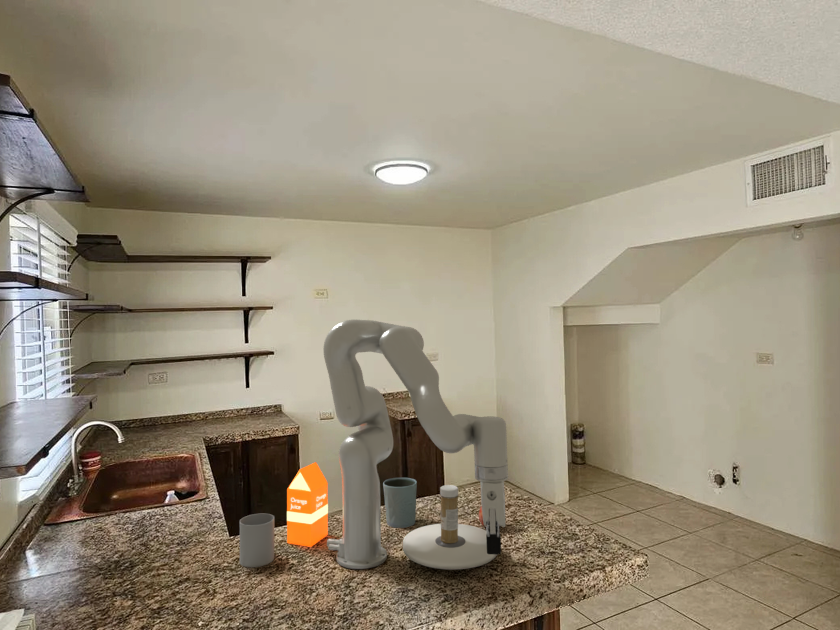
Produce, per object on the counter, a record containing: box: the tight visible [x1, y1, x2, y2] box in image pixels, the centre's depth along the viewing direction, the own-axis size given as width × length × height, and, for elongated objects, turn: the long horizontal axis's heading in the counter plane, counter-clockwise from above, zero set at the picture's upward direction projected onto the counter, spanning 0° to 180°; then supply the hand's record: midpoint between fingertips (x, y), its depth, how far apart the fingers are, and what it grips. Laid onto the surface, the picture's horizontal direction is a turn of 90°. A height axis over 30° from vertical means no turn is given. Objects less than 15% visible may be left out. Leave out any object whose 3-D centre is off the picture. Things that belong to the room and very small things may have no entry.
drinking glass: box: [382, 477, 418, 529], centre depth 153 cm, size 10×10×12 cm
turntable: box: [402, 523, 498, 570], centre depth 129 cm, size 24×24×8 cm
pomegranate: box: [478, 505, 501, 528], centre depth 148 cm, size 7×7×10 cm
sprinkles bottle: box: [439, 484, 459, 543], centre depth 129 cm, size 5×5×14 cm
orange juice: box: [286, 461, 329, 548], centre depth 141 cm, size 8×9×20 cm
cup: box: [239, 513, 275, 568], centre depth 128 cm, size 8×8×10 cm
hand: (494, 552), depth 117 cm, fingers closed
